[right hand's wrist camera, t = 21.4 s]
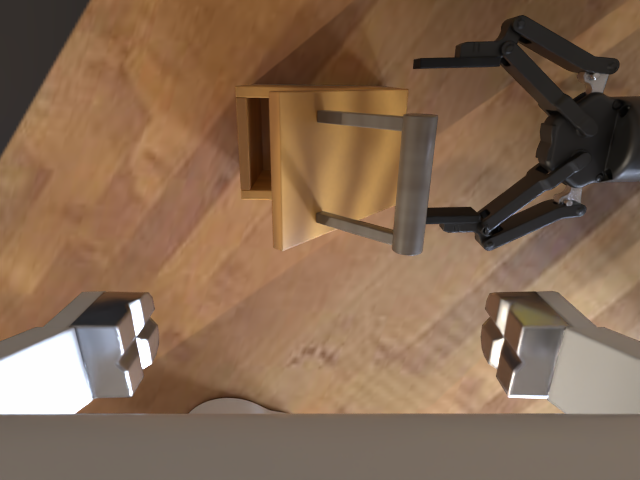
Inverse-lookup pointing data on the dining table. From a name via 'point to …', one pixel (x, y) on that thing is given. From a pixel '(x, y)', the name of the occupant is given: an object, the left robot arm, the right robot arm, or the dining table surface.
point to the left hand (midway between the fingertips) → (411, 145)
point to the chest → (263, 133)
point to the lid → (349, 165)
